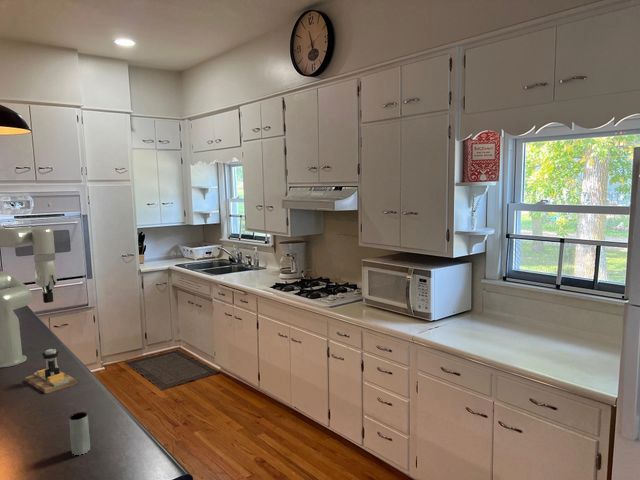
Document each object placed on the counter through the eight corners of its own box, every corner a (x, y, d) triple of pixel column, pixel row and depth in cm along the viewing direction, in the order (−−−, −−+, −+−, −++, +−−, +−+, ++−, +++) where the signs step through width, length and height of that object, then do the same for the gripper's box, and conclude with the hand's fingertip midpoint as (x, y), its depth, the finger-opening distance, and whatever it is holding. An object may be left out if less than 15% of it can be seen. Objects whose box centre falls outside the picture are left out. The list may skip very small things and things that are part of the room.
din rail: (33, 374, 182) (33, 372, 182) (47, 370, 186) (47, 368, 186) (54, 386, 170) (54, 384, 170) (68, 382, 174) (68, 380, 174)
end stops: (37, 374, 179) (36, 371, 179) (51, 370, 183) (50, 367, 183) (50, 382, 172) (49, 378, 172) (64, 378, 176) (64, 374, 176)
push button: (40, 380, 174) (38, 354, 173) (39, 376, 178) (37, 350, 177) (61, 376, 177) (58, 350, 176) (59, 372, 182) (57, 347, 181)
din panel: (25, 381, 180) (25, 377, 179) (56, 372, 188) (55, 368, 188) (45, 393, 168) (45, 389, 167) (77, 383, 176) (76, 379, 176)
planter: (76, 447, 131) (73, 412, 130) (92, 446, 132) (90, 411, 130) (69, 456, 127) (65, 420, 126) (86, 455, 127) (83, 419, 126)
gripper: (27, 257, 192) (31, 301, 194) (42, 260, 183) (46, 306, 185) (47, 255, 198) (50, 298, 200) (62, 258, 189) (65, 302, 191)
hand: (48, 302), depth 193 cm, fingers closed
